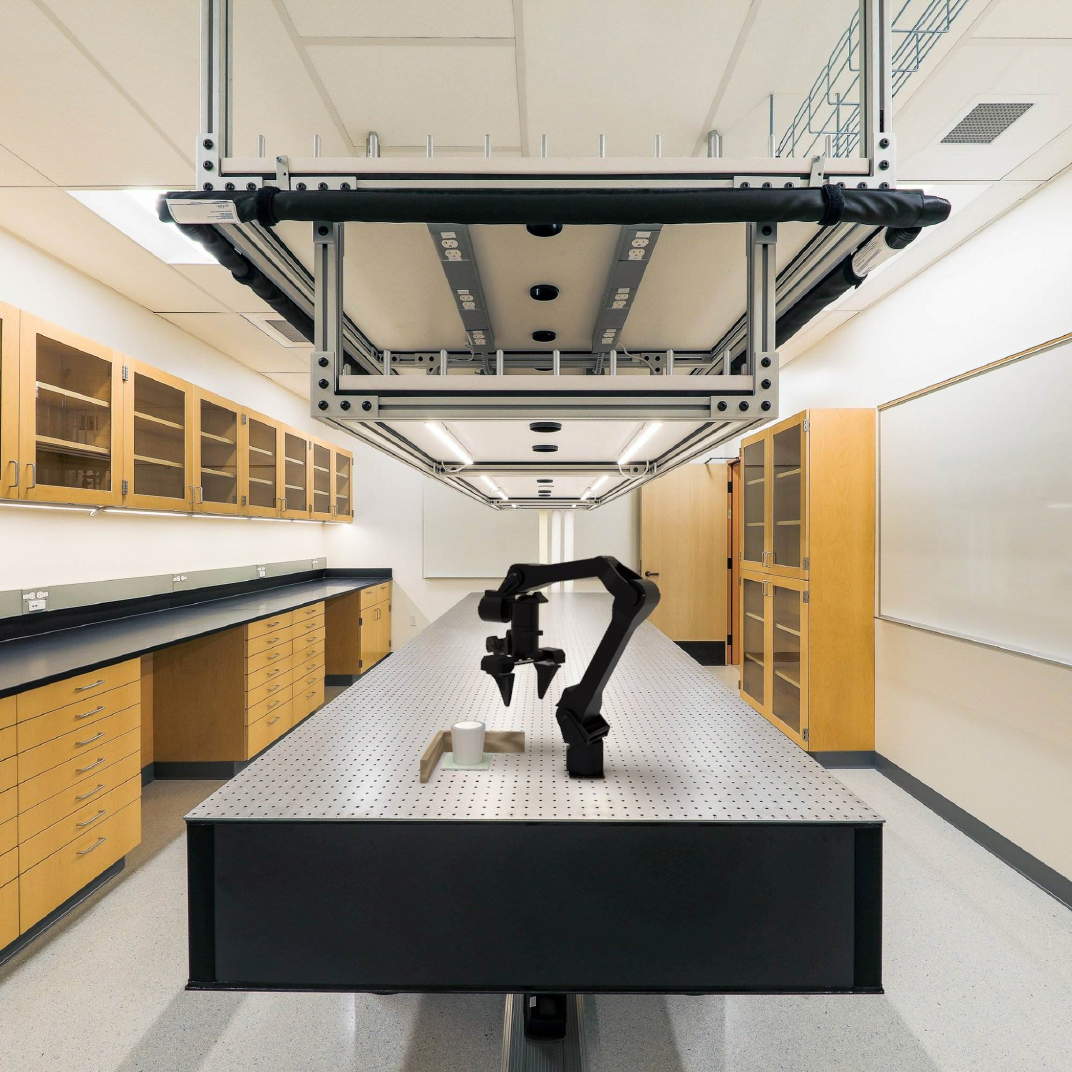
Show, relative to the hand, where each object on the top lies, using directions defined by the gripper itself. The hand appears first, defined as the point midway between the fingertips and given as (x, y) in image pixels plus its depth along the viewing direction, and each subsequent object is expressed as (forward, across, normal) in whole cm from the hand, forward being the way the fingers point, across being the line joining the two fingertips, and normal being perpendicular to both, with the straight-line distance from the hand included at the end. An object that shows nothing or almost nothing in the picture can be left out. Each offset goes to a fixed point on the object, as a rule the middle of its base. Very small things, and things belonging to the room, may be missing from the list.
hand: (524, 702), depth 120 cm
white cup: (+11, +10, -6) cm, 16 cm away
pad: (+11, +10, -6) cm, 16 cm away
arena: (+11, +10, -3) cm, 15 cm away
